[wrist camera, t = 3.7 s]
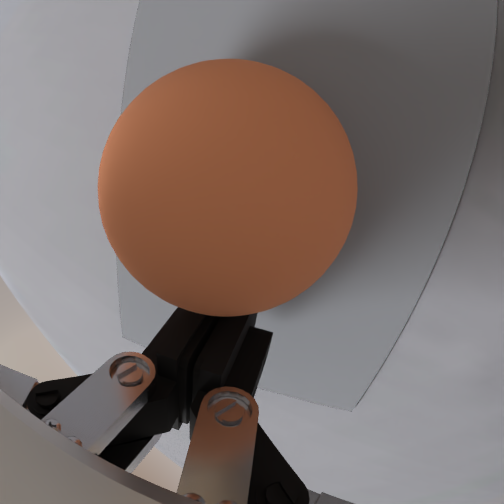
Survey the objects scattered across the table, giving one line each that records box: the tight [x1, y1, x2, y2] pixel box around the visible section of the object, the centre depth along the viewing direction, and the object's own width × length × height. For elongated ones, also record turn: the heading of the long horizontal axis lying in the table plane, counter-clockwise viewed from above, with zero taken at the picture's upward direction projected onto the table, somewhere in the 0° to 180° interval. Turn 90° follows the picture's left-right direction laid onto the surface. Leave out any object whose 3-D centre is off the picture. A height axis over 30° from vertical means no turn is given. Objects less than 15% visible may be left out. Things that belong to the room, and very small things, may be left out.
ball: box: [98, 59, 358, 317], centre depth 8 cm, size 6×6×6 cm
